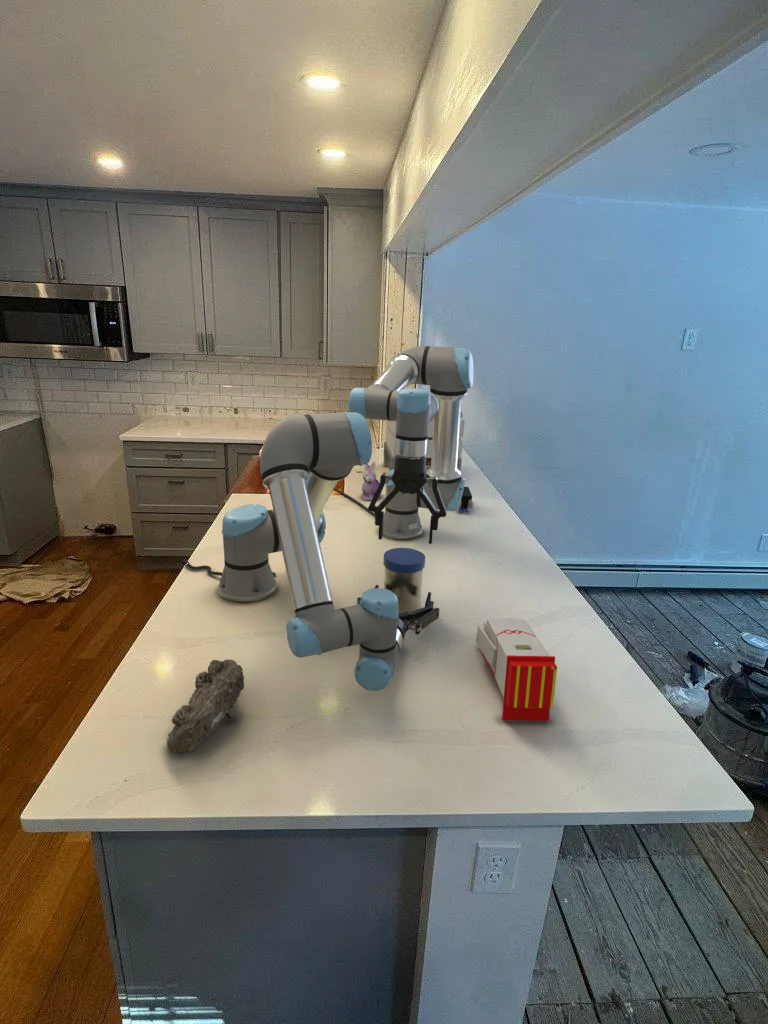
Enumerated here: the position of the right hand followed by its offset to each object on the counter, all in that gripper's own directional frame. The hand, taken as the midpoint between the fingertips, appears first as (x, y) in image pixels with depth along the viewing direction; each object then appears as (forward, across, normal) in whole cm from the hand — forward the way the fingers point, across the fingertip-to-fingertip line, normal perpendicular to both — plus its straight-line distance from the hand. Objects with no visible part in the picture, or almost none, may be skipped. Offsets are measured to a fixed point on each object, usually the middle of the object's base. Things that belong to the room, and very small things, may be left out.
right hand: (405, 539), depth 142 cm
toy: (+20, -26, +24) cm, 41 cm away
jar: (+20, 0, 0) cm, 20 cm away
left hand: (+14, 0, +2) cm, 14 cm away
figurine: (+20, +21, -92) cm, 96 cm away
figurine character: (+20, -16, -87) cm, 91 cm away
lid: (+5, 0, 0) cm, 5 cm away
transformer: (+20, +4, -134) cm, 136 cm away
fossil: (+20, +32, +47) cm, 60 cm away
